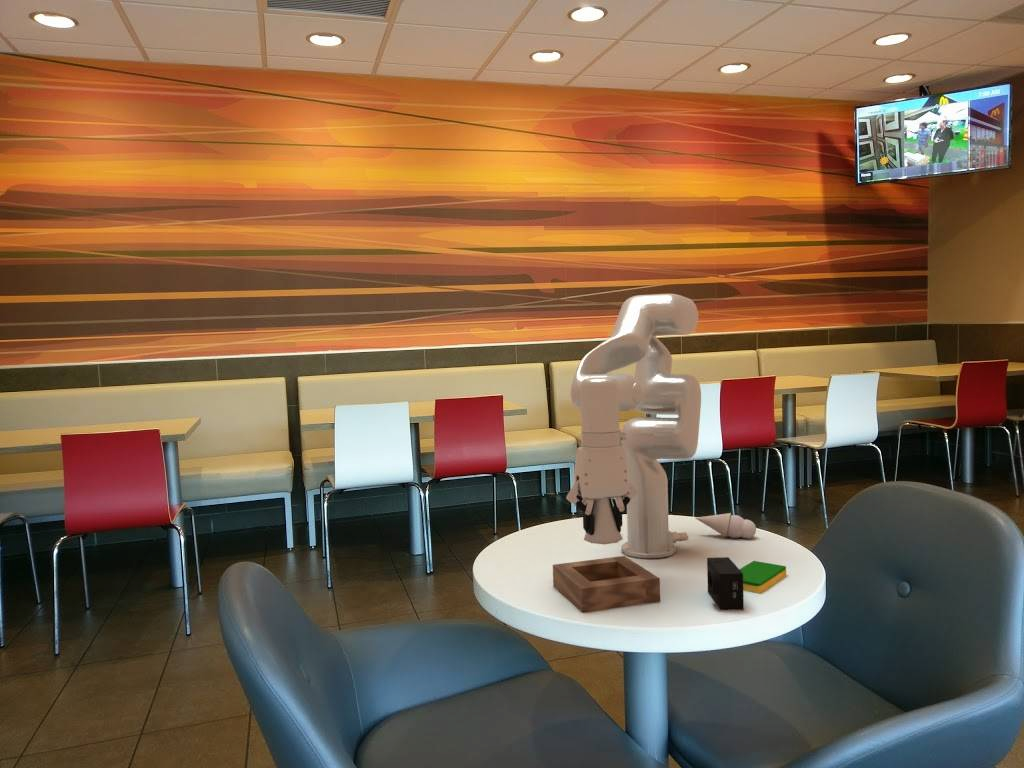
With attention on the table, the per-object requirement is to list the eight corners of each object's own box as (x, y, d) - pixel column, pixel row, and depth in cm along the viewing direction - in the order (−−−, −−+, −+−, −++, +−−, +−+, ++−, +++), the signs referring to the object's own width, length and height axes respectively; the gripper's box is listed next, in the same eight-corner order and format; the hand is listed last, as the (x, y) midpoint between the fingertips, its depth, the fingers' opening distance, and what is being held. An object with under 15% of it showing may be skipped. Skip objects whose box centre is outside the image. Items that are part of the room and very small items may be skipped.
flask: (577, 541, 151) (575, 491, 150) (601, 534, 156) (599, 485, 155) (605, 547, 145) (604, 495, 145) (629, 540, 150) (628, 490, 150)
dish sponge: (725, 588, 153) (725, 576, 153) (753, 571, 163) (753, 560, 163) (759, 595, 148) (759, 583, 148) (786, 577, 159) (786, 565, 159)
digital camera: (701, 592, 150) (700, 557, 150) (729, 591, 150) (728, 556, 150) (713, 611, 140) (713, 573, 140) (743, 610, 140) (743, 572, 139)
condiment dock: (624, 576, 161) (624, 555, 161) (660, 601, 146) (659, 578, 146) (553, 586, 157) (552, 564, 156) (582, 612, 141) (581, 588, 141)
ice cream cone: (692, 533, 193) (753, 547, 188) (691, 523, 188) (754, 537, 183) (696, 512, 196) (757, 525, 191) (696, 501, 191) (758, 514, 186)
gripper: (632, 435, 155) (634, 523, 156) (553, 441, 151) (555, 531, 152) (648, 439, 148) (650, 532, 149) (566, 445, 143) (569, 541, 144)
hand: (602, 531), depth 150 cm, fingers closed on flask, 5 cm apart
